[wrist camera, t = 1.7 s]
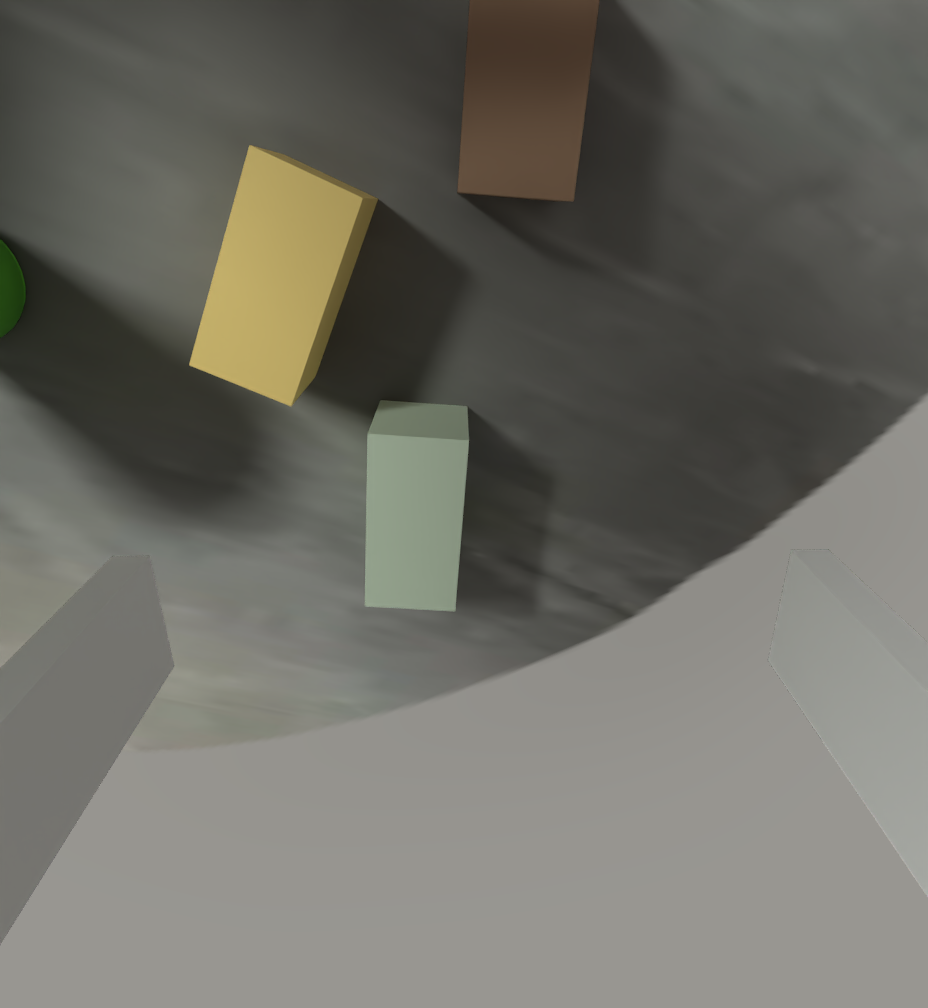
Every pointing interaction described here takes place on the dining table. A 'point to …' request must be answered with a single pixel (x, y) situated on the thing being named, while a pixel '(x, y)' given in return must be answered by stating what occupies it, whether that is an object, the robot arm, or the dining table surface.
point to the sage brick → (415, 504)
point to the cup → (10, 290)
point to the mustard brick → (280, 275)
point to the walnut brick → (525, 97)
